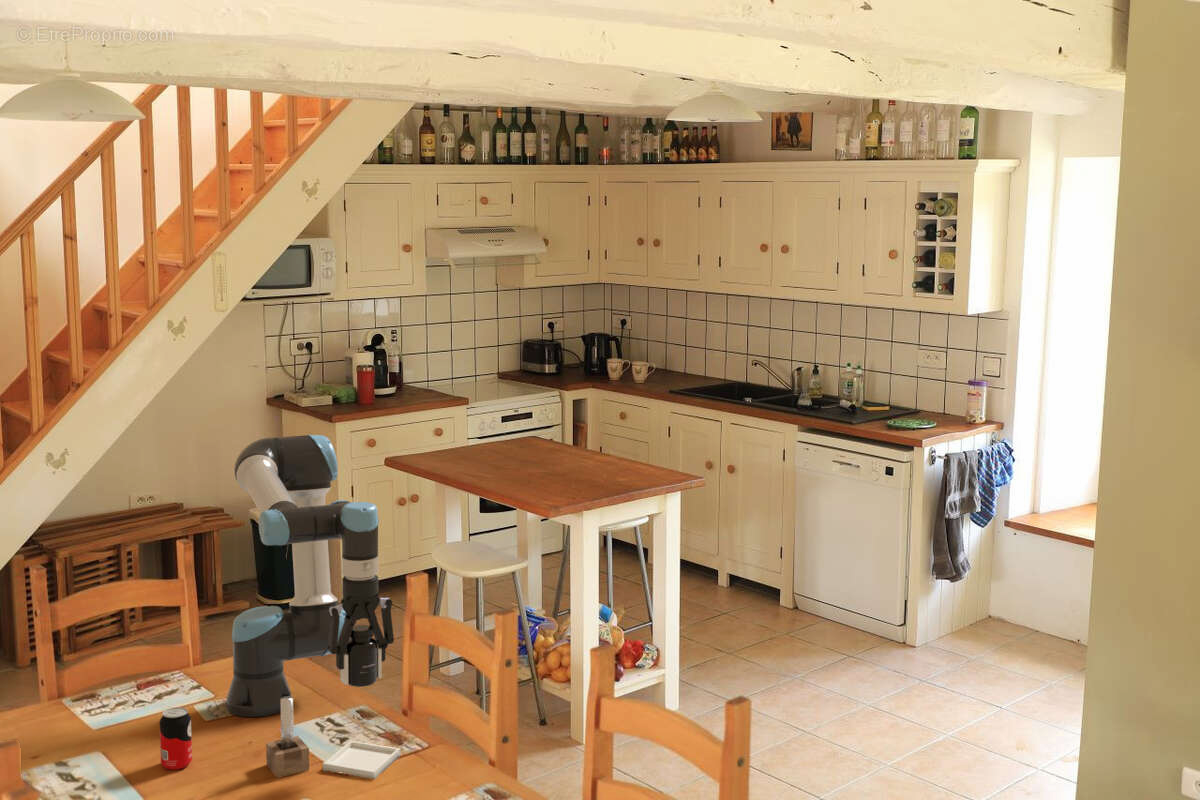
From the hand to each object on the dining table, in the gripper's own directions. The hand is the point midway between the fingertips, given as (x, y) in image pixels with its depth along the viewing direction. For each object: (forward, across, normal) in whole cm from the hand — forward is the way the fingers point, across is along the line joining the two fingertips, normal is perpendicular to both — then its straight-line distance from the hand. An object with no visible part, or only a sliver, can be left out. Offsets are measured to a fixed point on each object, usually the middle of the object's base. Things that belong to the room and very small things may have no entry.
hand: (361, 679), depth 256 cm
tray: (+19, 0, 0) cm, 19 cm away
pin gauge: (+18, -14, +6) cm, 23 cm away
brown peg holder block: (+19, -14, +6) cm, 25 cm away
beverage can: (+19, -34, +19) cm, 44 cm away
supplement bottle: (+1, 0, 0) cm, 1 cm away
